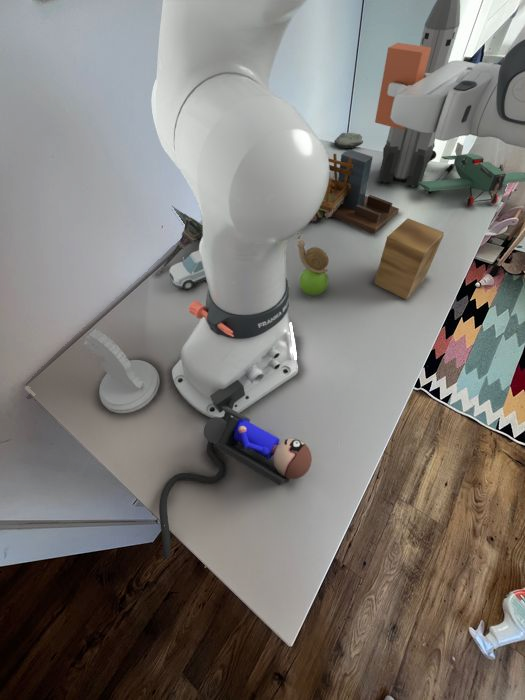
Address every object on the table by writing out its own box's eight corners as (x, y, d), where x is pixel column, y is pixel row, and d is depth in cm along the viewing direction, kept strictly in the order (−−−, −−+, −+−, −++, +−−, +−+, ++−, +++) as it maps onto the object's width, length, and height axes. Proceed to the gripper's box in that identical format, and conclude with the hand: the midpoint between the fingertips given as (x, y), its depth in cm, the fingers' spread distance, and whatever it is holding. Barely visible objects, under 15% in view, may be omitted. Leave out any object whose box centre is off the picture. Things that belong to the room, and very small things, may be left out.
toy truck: (265, 183, 92) (260, 121, 80) (349, 209, 83) (358, 143, 71) (241, 203, 88) (233, 141, 76) (327, 233, 78) (333, 167, 66)
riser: (406, 299, 65) (424, 252, 56) (374, 283, 68) (387, 236, 59) (424, 280, 68) (444, 232, 59) (392, 265, 71) (407, 217, 62)
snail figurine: (302, 277, 70) (304, 226, 61) (331, 287, 68) (338, 235, 58) (289, 293, 68) (290, 243, 58) (319, 304, 65) (324, 254, 56)
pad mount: (374, 234, 77) (387, 180, 67) (324, 213, 83) (329, 159, 73) (397, 214, 81) (413, 159, 71) (348, 195, 87) (356, 142, 77)
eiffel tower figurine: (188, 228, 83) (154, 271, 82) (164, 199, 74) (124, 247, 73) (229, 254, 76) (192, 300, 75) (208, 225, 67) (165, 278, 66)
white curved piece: (128, 354, 61) (89, 295, 49) (171, 375, 58) (140, 317, 46) (88, 398, 56) (34, 344, 44) (132, 423, 53) (87, 373, 41)
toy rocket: (375, 183, 89) (415, -9, 61) (381, 167, 93) (422, -19, 65) (421, 190, 86) (486, -10, 57) (425, 173, 90) (488, -20, 62)
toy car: (169, 278, 72) (162, 259, 68) (223, 256, 75) (220, 237, 71) (179, 294, 69) (172, 276, 65) (235, 271, 72) (232, 252, 68)
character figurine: (229, 413, 54) (314, 463, 48) (200, 451, 50) (289, 510, 44) (224, 386, 47) (321, 440, 42) (190, 426, 44) (293, 491, 38)
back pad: (403, 130, 62) (422, 52, 53) (374, 122, 65) (388, 47, 56) (411, 124, 63) (431, 47, 55) (383, 117, 66) (397, 42, 57)
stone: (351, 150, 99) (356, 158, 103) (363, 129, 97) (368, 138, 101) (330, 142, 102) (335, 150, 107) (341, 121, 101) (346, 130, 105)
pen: (453, 167, 92) (457, 164, 91) (428, 196, 85) (433, 193, 84) (450, 163, 92) (455, 160, 91) (426, 191, 85) (430, 188, 83)
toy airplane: (544, 205, 78) (570, 153, 70) (433, 216, 79) (447, 166, 71) (494, 171, 93) (511, 126, 86) (402, 181, 94) (411, 137, 87)
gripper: (512, 55, 55) (431, 44, 61) (454, 97, 47) (367, 79, 53) (493, 101, 60) (420, 86, 66) (438, 145, 52) (361, 124, 58)
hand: (396, 83), depth 60 cm, fingers closed on back pad, 3 cm apart
